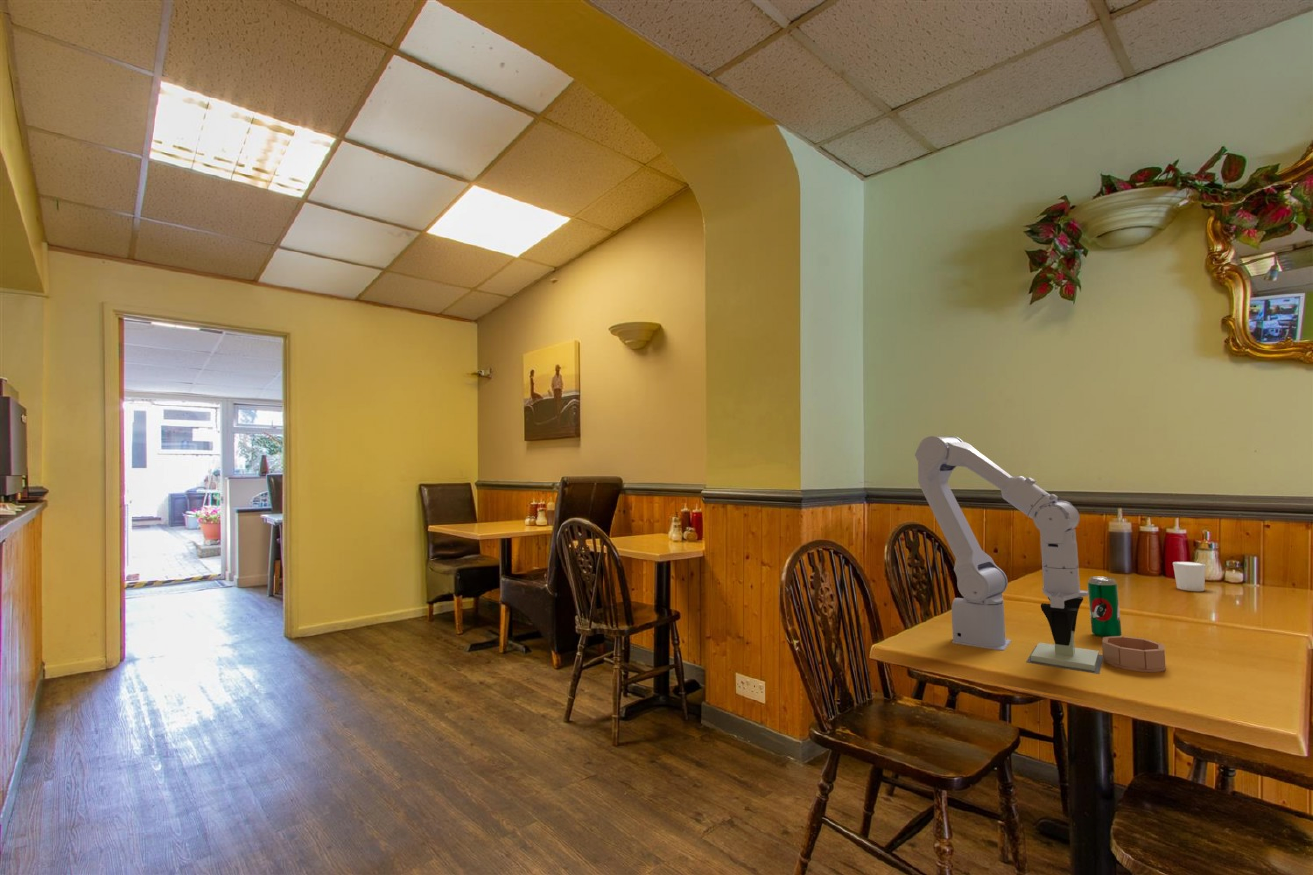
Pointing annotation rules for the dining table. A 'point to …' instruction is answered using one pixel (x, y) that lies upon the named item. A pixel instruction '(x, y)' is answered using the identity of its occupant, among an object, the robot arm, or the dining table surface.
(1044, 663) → the mat
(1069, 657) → the cover
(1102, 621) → the soda can
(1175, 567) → the white cup
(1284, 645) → the dining table surface
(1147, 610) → the dining table surface
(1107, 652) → the bowl
